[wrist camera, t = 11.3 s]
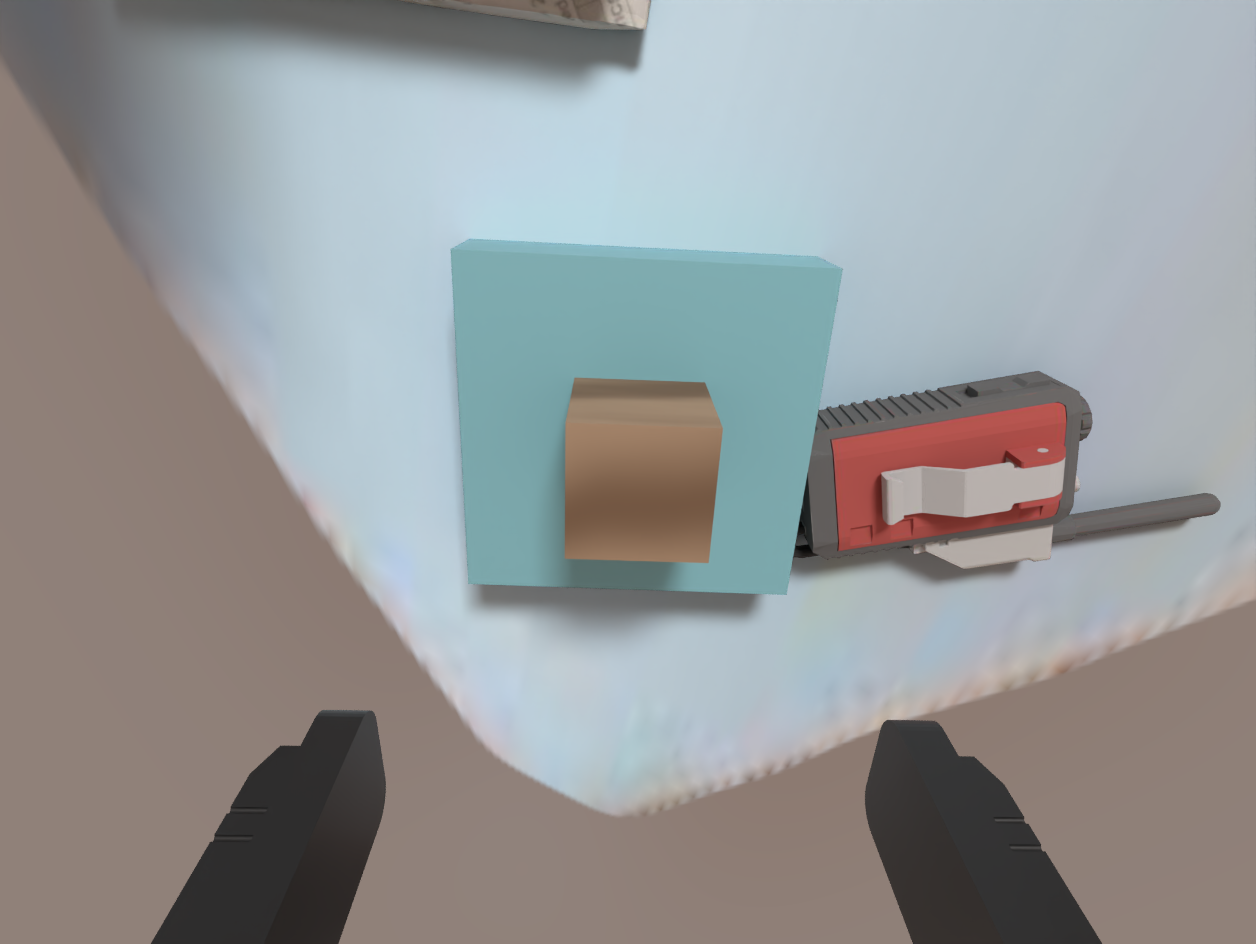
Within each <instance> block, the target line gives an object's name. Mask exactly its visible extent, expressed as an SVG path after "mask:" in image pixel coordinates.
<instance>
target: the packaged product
mask: <svg viewBox="0 0 1256 944" xmlns="http://www.w3.org/2000/svg"><path fill="white" fill-rule="evenodd" d="M399 1H404V2H409V3H415V4H422V5H429V6H435V7H442V8H448V9H455V10H461V11H470V12H476V13H482V14H488V15H495V16H503V17H510V18H517V19H524V20H531V21H539V22H546V23H553V24H560V25H568V26H575V27H582V28H589V29H611V30H643V29H646V25H647V19H648V13H649V7H650V1H651V0H399Z"/></svg>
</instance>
